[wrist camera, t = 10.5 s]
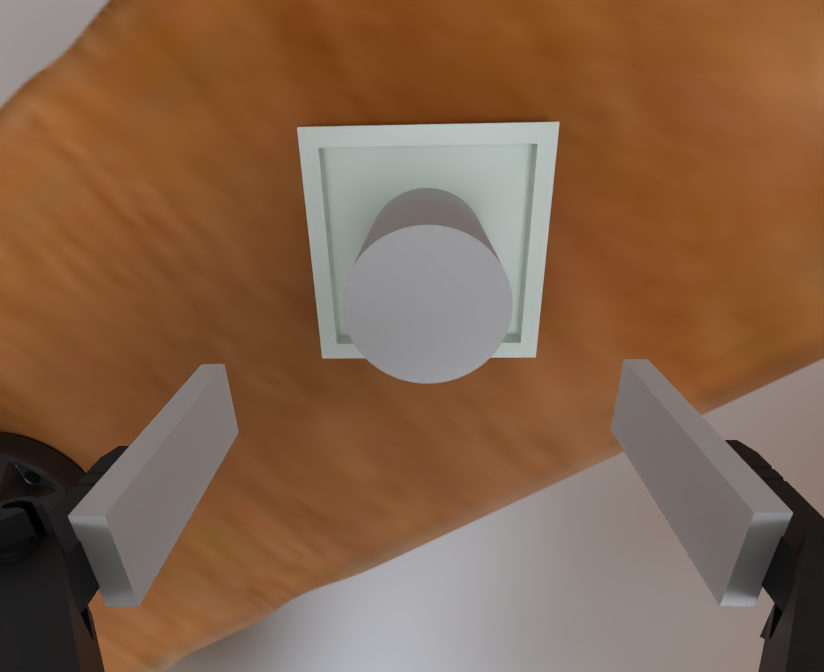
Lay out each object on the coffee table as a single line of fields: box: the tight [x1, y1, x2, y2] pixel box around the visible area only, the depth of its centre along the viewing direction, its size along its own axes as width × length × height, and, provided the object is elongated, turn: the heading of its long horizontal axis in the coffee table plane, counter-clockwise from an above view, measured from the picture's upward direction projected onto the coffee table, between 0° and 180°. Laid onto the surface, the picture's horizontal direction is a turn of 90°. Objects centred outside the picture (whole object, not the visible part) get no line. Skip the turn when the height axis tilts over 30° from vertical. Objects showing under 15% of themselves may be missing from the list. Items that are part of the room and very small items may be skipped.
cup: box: [343, 188, 513, 383], centre depth 28 cm, size 8×8×12 cm
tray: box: [297, 122, 559, 358], centre depth 34 cm, size 16×16×2 cm
